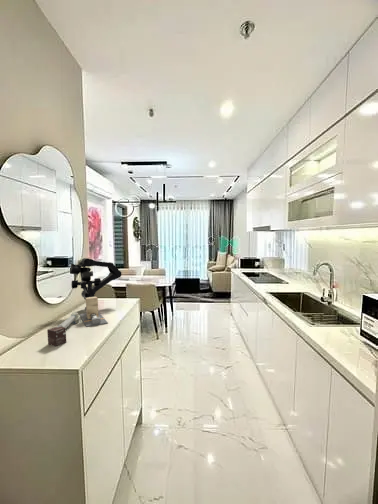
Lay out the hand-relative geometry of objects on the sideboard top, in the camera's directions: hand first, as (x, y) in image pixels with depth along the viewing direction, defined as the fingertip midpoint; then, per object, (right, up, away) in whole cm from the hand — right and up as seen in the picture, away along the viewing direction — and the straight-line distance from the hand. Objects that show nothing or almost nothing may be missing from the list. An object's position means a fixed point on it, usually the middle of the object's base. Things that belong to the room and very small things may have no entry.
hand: (87, 293), depth 197 cm
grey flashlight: (-1, -16, -29) cm, 33 cm away
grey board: (+8, -14, -14) cm, 21 cm away
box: (+4, -17, -55) cm, 57 cm away
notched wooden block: (+7, -14, -13) cm, 20 cm away
